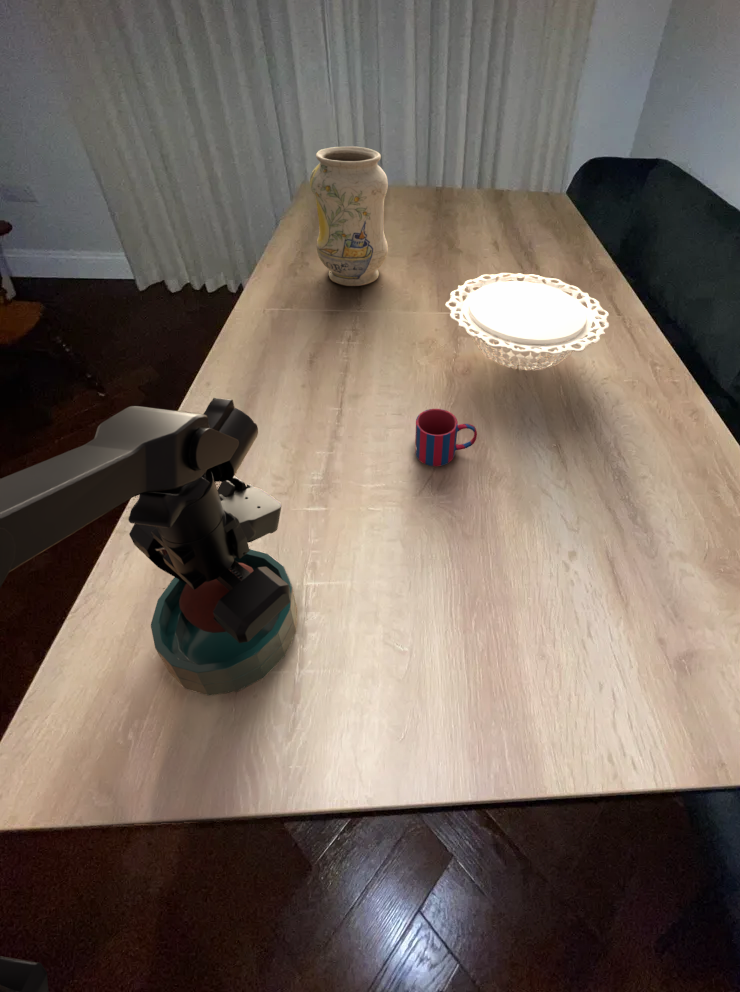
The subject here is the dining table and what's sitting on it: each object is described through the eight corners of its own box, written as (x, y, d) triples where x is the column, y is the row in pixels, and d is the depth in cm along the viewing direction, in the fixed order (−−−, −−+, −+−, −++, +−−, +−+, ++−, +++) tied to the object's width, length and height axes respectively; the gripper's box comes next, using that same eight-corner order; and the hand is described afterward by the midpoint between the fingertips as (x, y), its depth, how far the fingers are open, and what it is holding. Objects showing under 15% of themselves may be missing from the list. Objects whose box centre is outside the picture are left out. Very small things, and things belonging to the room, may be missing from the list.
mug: (418, 436, 91) (419, 406, 87) (475, 442, 91) (479, 413, 87) (412, 464, 86) (412, 433, 82) (473, 471, 86) (477, 440, 81)
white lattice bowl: (413, 348, 113) (414, 295, 105) (518, 309, 129) (526, 260, 121) (518, 432, 94) (529, 374, 86) (626, 373, 110) (643, 320, 102)
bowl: (219, 726, 55) (206, 702, 51) (140, 642, 61) (124, 615, 58) (322, 620, 65) (318, 593, 61) (245, 556, 71) (237, 528, 67)
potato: (193, 588, 62) (178, 553, 58) (268, 579, 64) (259, 544, 60) (180, 650, 57) (162, 615, 52) (262, 638, 58) (251, 604, 54)
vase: (323, 259, 144) (312, 140, 126) (389, 261, 146) (388, 144, 127) (314, 290, 130) (300, 162, 112) (387, 292, 132) (386, 166, 113)
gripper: (324, 513, 51) (335, 601, 61) (206, 431, 59) (232, 520, 69) (225, 597, 44) (256, 682, 53) (105, 490, 52) (150, 580, 61)
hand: (224, 606), depth 59 cm, fingers closed on potato, 8 cm apart
